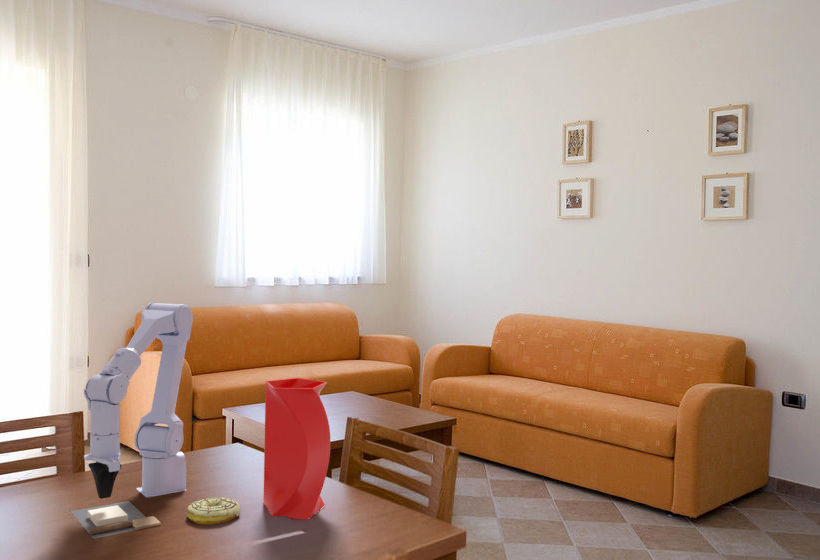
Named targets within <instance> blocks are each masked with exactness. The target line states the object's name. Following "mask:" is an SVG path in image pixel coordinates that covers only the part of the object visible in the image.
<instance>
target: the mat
mask: <svg viewBox="0 0 820 560" xmlns="http://www.w3.org/2000/svg"><path fill="white" fill-rule="evenodd" d="M115 505H118V506H119V507H120V508H121V509H122V510H123V511H124V512H125V513H126V514H127V515H128V521H131V520H136V519H141V518H145V517H146V516H145V515H144V514H143V513H142V512H141V511H140V510H139V509H138V508H137V507H136V506H135V505H133V504H132V503H131V502H130V501H129V500H127V501H121V502H120V501H119V502H113V503H110V504H108V503H107V504H103V505H99V506H98V505H97V506H92V507H87V508H82V509H80V508H79V509H76V510H70V513H71V514H72V515H73V516H74V517H75V519H76V520H77V521H78V523H80V525H81V526H82V528H84V530H85V531H86V532H87V534H88V535H89V536H90V537H91V538H92V539H93V540H94V539H99V538H104V537H105V538H106V537H109V536H113V535H119V534H124V533H129V532H133V531H136V530H135V529H134V528H133V527H127V528H122V529H118V530H113V531H108V532H104V533H99V534H94V535H90V533H89V530H90V529H92V528H97V526H96V525H95V524H94V523H93V522H92V521H91V520H90V518H89V517H88V510H93V509H99V508H104V507H110V506H115ZM125 522H126V521H125ZM153 527H155V526H152V527H151V528H153ZM149 528H150V527H148V529H149ZM143 529H144V530H145V528H143ZM143 529H142V530H143Z"/></svg>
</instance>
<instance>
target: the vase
mask: <svg viewBox="0 0 820 560" xmlns="http://www.w3.org/2000/svg"><path fill="white" fill-rule="evenodd" d="M327 384H328V382H327V381H322V380H315V379H309V378H303V377H292V378H283V379H275V380H274V379H272V380H266V381H265V396H264V397H265V398H264V399H265V400H264V401H265V405H264V443H263V444H264V445H263V446H264V450H263V451H264V452H263V453H264V456H263V457H264V458H263V499H262V500H263V502H262V504H263V505H264V507H265V509H266V510H267V512H268V513H269V514H270V516H271V517H281V516H282V517H287V518H289V519H290V520H309V519H308V518H310V519H312V518H313V517H314V516H315V515H316V514H315V513H317V512H318V511H319V510H320V509H321V508H322V507H323V506H324V505H325V506H326V504H325V503H324V500H323V498H322V496H321V494H322V490H323V487H324V484H325V480H326V476H327V473H328V467H329V464H330V463H329V462H330V456H331V429H330V421H329V417H328V414H327V411H326V408H325V405H324V403H323V401H322V399H321V391H322V390H323V389H324V387H325V386H326V385H327ZM319 512H320V511H319ZM319 512H318V513H319ZM318 513H317V514H318ZM314 514H315V515H314ZM313 515H314V516H313ZM312 516H313V517H312ZM311 517H312V518H311ZM291 518H293V519H291ZM295 518H296V519H295ZM301 518H302V519H301Z"/></svg>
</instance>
